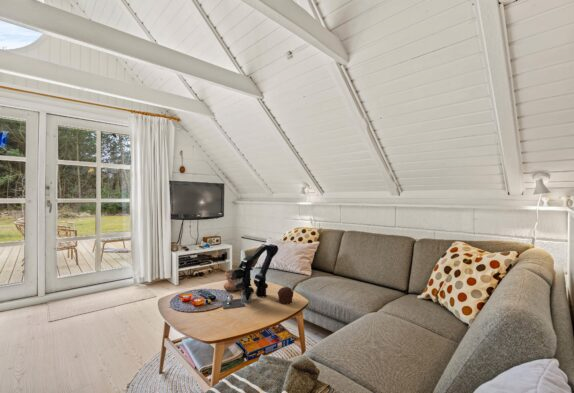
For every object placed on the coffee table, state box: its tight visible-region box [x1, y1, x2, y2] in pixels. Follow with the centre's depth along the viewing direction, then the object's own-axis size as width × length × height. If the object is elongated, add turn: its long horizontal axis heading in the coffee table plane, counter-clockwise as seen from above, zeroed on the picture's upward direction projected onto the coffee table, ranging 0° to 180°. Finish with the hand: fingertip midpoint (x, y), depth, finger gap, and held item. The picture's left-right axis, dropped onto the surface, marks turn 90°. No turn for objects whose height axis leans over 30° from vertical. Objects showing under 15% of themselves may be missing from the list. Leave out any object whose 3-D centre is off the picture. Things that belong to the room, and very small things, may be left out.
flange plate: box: [220, 296, 245, 310], centre depth 197 cm, size 14×12×5 cm
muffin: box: [277, 286, 294, 305], centre depth 201 cm, size 12×11×10 cm
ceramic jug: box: [223, 269, 242, 292], centre depth 227 cm, size 18×14×14 cm
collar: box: [240, 291, 252, 303], centre depth 204 cm, size 6×6×5 cm
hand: (246, 298), depth 204 cm, fingers closed on collar, 6 cm apart
